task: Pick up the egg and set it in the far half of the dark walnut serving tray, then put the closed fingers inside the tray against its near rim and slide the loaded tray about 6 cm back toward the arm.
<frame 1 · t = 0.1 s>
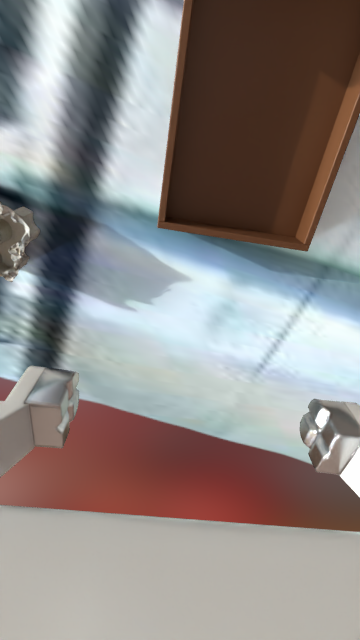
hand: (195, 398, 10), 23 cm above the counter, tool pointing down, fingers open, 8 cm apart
tray: (256, 118, 25), on the counter
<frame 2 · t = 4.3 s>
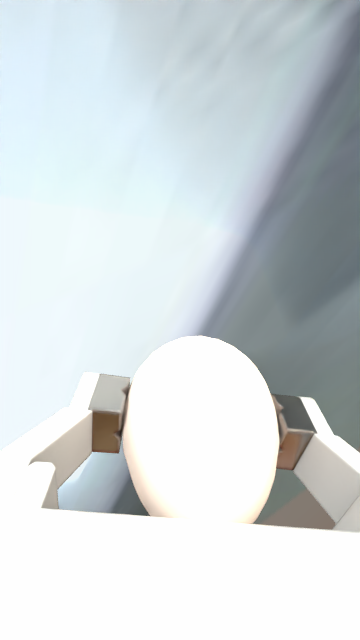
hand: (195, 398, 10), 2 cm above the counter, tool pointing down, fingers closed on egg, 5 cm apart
egg: (193, 355, 13), on the counter, touching gripper
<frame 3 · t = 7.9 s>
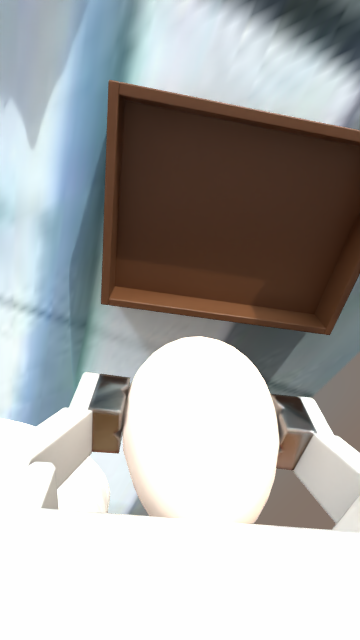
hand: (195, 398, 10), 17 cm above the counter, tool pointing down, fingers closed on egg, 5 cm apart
tray: (234, 224, 24), on the counter
plate stack: (7, 487, 41), on the counter
egg: (193, 355, 13), point 14 cm above the counter, touching gripper
when the fingers open (3 cm above the counter, at t = 11.7 s): egg stays where it is, resting on tray.
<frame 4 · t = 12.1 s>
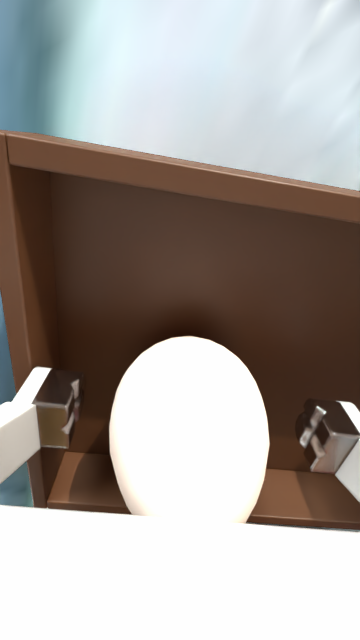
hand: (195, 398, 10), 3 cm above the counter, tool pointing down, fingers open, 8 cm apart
tray: (274, 362, 13), on the counter, touching egg, gripper
egg: (184, 355, 12), resting on tray
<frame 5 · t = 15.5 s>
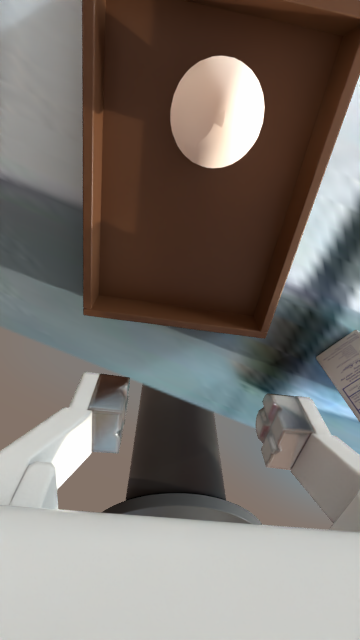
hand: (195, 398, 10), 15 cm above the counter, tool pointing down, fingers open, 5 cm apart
medicine box: (354, 363, 29), on the counter
tray: (197, 189, 21), on the counter, touching egg
egg: (209, 121, 19), resting on tray
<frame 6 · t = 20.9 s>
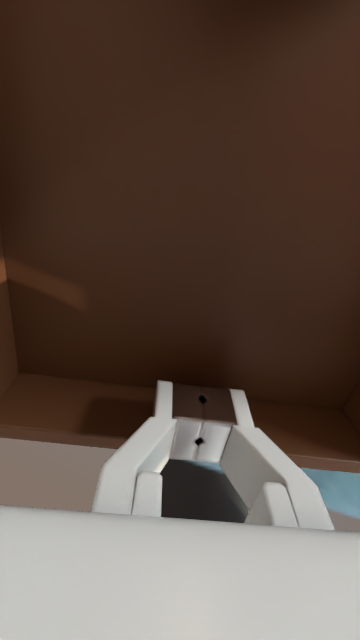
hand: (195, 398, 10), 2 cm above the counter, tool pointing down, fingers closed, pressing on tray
tray: (245, 127, 8), on the counter, touching egg, gripper
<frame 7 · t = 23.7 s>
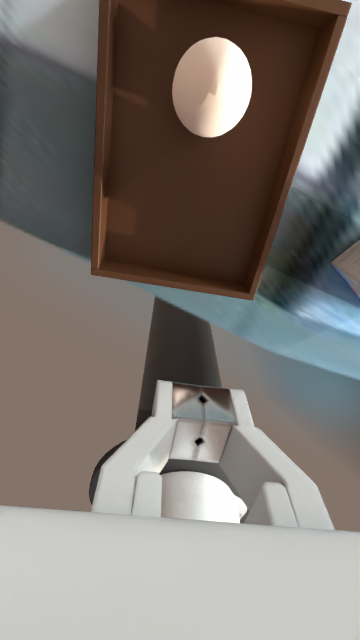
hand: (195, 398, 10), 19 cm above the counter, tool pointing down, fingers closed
tray: (194, 162, 24), on the counter, touching egg
egg: (206, 99, 21), resting on tray
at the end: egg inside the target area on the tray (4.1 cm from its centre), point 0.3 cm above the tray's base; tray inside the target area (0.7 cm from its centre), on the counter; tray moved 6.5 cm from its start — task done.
